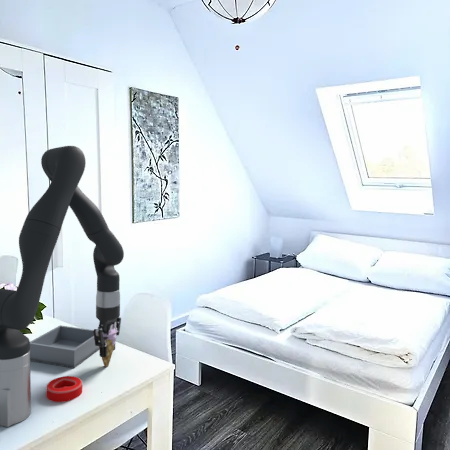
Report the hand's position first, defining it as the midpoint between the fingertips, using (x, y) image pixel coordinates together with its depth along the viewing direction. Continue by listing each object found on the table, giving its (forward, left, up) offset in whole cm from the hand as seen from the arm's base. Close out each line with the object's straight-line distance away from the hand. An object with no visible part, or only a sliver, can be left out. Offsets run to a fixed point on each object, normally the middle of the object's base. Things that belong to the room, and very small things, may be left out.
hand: (107, 353), depth 138 cm
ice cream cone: (0, 0, -5) cm, 5 cm away
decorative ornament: (-19, +3, -5) cm, 20 cm away
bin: (+4, +18, -4) cm, 19 cm away
